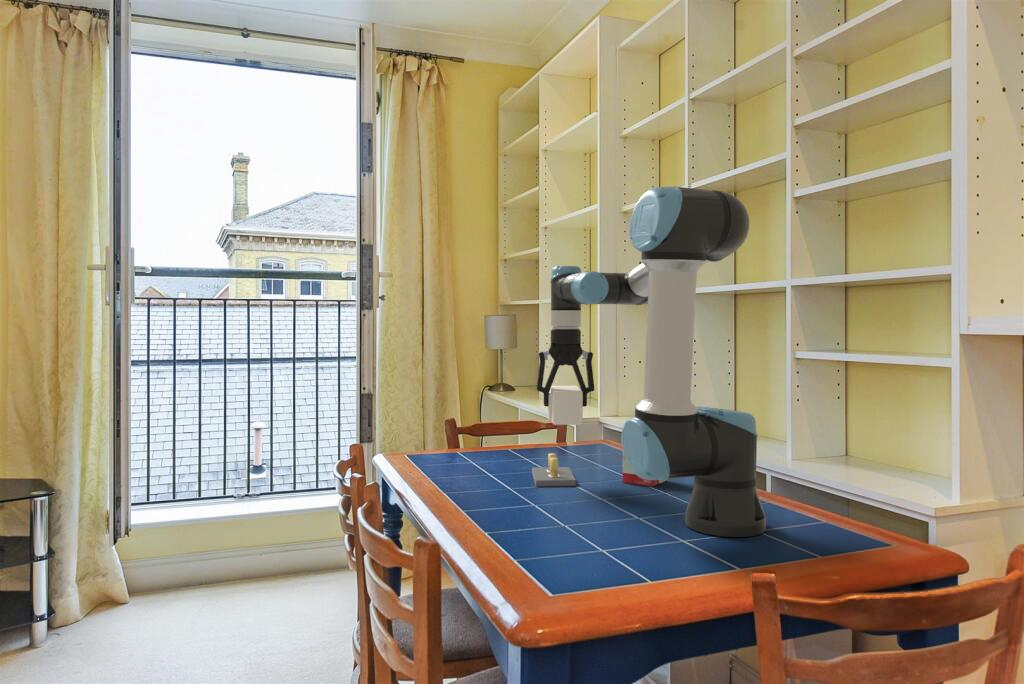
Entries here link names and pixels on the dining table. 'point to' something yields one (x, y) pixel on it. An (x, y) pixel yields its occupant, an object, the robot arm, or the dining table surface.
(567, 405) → the block
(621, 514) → the dining table surface
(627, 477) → the ink box
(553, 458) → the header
